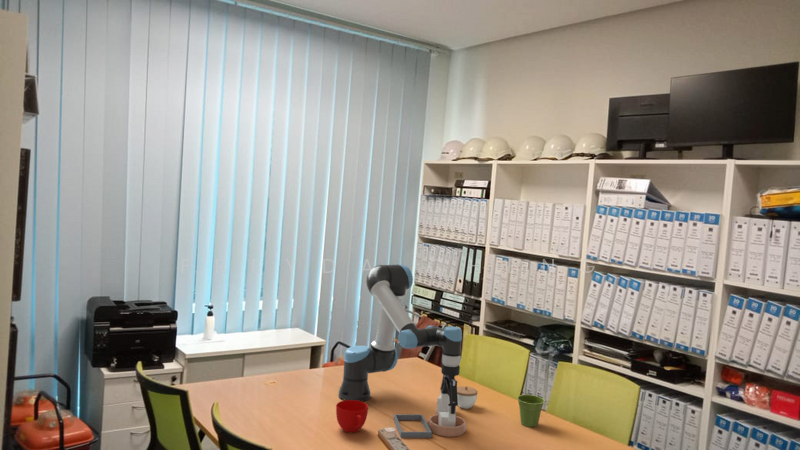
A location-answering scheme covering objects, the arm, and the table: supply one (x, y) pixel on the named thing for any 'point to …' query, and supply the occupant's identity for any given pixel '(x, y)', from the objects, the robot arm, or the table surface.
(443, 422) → the white cube
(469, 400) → the lidded jar
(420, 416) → the parts tray
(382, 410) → the table surface
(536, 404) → the plant pot
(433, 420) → the bowl
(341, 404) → the ceramic cup
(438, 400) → the medicine bottle
